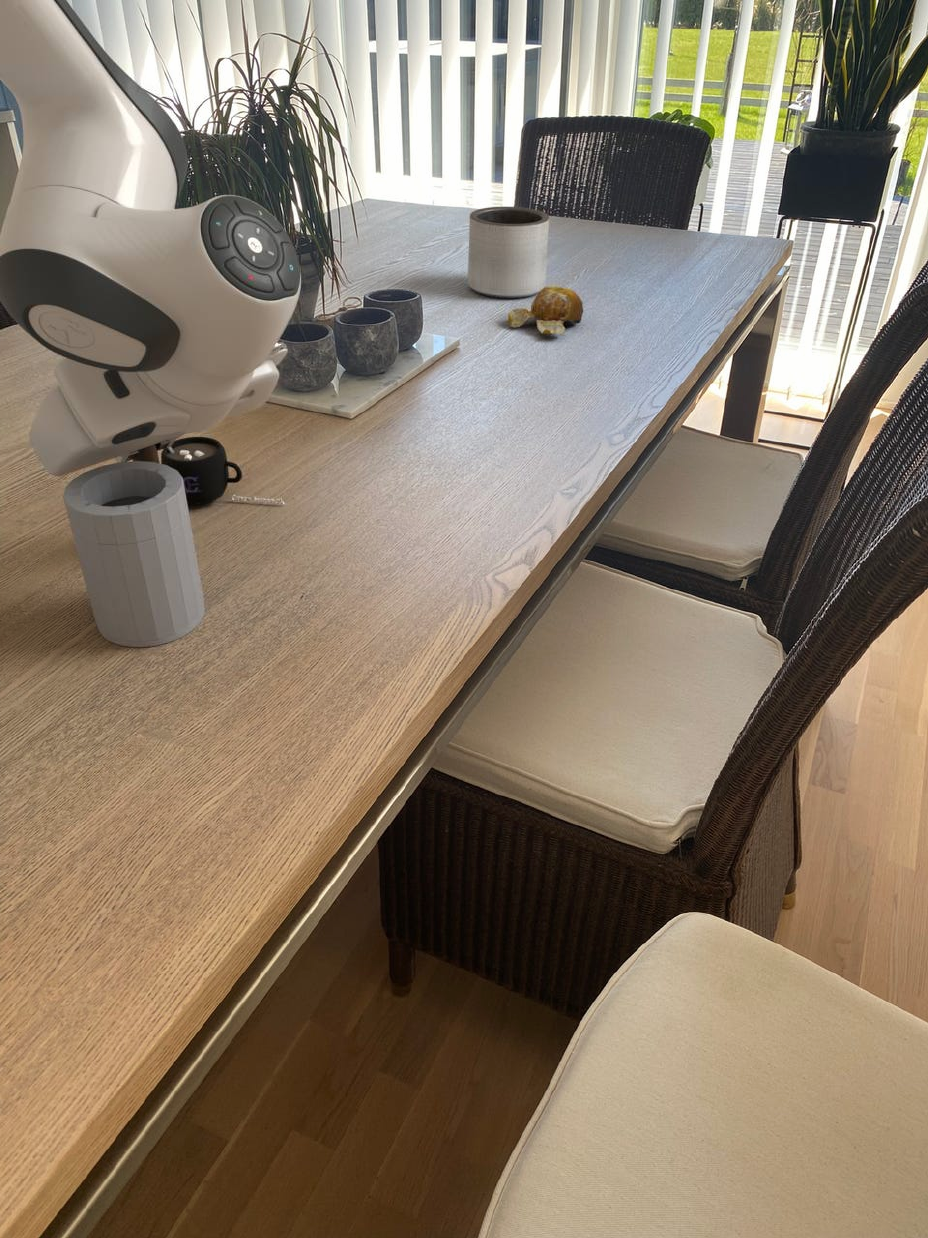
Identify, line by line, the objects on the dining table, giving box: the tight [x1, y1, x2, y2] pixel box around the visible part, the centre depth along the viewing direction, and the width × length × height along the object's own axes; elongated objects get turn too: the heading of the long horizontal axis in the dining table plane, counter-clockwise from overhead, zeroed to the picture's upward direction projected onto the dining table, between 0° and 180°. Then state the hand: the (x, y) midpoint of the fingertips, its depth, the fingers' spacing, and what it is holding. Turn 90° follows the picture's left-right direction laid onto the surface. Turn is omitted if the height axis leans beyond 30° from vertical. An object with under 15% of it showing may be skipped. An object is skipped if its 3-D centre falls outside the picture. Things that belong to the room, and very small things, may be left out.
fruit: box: [507, 286, 584, 336], centre depth 137 cm, size 11×11×5 cm
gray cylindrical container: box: [62, 460, 206, 648], centre depth 75 cm, size 9×9×12 cm
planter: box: [467, 206, 550, 299], centre depth 150 cm, size 12×12×11 cm
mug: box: [160, 436, 285, 505], centre depth 92 cm, size 12×6×8 cm, turn 83°
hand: (139, 447), depth 83 cm, fingers closed on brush, 2 cm apart
